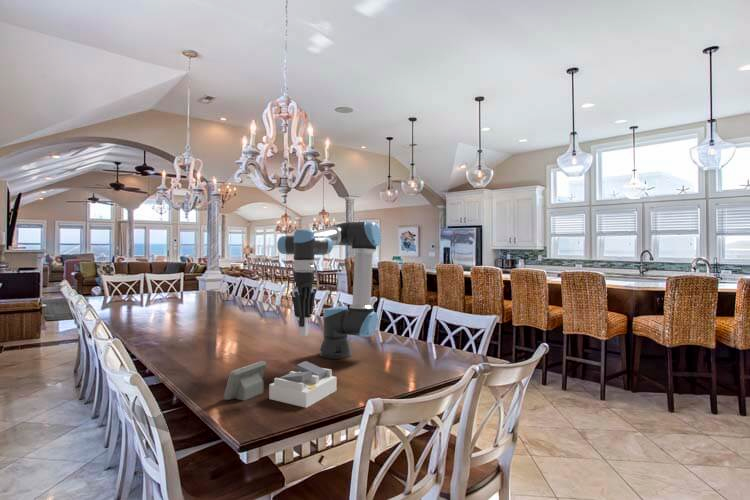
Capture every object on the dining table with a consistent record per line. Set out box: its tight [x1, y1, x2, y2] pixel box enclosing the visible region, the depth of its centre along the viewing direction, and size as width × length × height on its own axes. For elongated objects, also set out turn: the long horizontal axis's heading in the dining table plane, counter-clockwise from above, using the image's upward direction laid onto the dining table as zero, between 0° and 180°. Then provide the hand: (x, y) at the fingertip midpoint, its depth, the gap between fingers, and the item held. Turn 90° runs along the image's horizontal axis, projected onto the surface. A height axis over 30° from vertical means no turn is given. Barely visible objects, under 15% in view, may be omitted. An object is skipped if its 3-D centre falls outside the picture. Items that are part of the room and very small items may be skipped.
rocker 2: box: [295, 360, 327, 379], centre depth 149 cm, size 10×5×2 cm, turn 62°
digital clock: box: [223, 360, 267, 402], centre depth 144 cm, size 16×9×11 cm, turn 139°
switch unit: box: [268, 367, 338, 409], centre depth 145 cm, size 16×18×7 cm
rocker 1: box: [279, 371, 312, 382], centre depth 141 cm, size 10×5×2 cm, turn 62°
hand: (303, 334), depth 150 cm, fingers closed
